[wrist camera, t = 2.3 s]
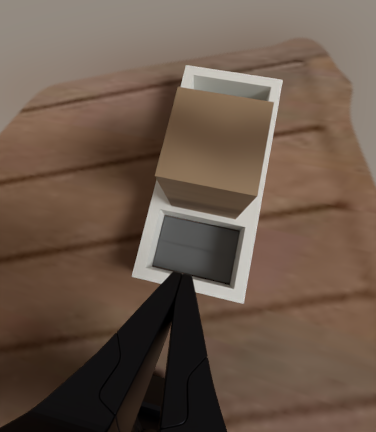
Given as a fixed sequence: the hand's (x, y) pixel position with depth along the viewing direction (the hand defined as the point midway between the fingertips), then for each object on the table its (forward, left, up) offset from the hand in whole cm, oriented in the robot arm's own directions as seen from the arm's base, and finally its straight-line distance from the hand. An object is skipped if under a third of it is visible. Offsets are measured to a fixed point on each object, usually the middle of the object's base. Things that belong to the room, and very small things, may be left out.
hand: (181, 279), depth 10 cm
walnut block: (+8, 0, -11) cm, 13 cm away
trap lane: (+9, 0, -14) cm, 16 cm away
